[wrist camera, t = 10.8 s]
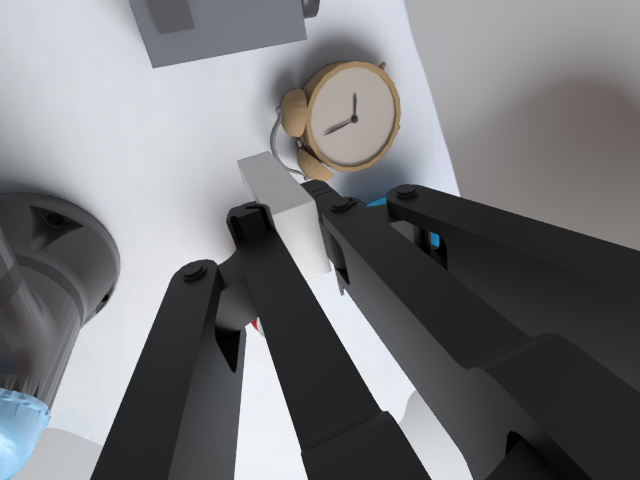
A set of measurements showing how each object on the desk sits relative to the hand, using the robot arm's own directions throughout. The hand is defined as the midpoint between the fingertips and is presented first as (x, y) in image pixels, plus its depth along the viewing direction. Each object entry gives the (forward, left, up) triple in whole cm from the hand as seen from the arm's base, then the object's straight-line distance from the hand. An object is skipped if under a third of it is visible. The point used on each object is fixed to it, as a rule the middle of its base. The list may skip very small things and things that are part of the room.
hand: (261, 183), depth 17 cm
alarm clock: (+11, -4, -24) cm, 27 cm away
